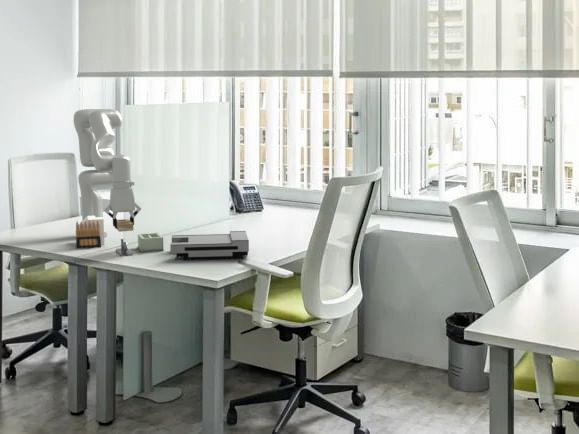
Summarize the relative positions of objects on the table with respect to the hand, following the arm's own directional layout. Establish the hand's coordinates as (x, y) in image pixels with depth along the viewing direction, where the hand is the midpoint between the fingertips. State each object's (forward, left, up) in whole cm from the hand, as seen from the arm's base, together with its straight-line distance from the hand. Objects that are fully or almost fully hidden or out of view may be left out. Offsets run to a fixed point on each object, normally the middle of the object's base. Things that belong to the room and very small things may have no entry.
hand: (123, 226), depth 320 cm
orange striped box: (-24, -11, -12) cm, 29 cm away
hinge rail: (0, 0, -11) cm, 11 cm away
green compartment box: (-3, +12, -11) cm, 17 cm away
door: (0, 0, -1) cm, 1 cm away
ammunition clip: (-16, -13, -12) cm, 24 cm away
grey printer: (+16, +33, -12) cm, 39 cm away
